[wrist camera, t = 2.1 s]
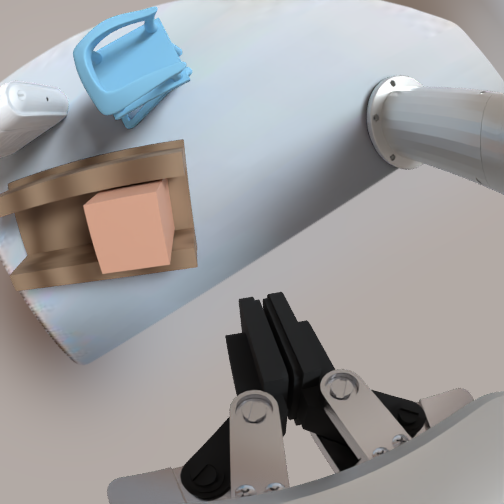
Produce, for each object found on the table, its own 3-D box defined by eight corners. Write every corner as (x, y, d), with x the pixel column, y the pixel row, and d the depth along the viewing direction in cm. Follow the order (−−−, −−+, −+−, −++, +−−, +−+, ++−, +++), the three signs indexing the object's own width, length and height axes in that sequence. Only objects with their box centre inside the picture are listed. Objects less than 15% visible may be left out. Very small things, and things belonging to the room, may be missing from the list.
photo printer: (65, 82, 20) (-1, 70, 9) (74, 115, 22) (8, 119, 11) (1, 128, 19) (-68, 145, 8) (10, 159, 21) (-58, 187, 11)
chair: (202, 91, 24) (209, 68, 14) (128, 130, 24) (88, 136, 14) (172, 32, 20) (163, -20, 10) (99, 71, 20) (48, 47, 10)
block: (166, 172, 26) (156, 191, 19) (174, 227, 29) (169, 264, 22) (110, 182, 25) (83, 205, 18) (122, 236, 28) (102, 273, 21)
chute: (183, 139, 26) (180, 143, 21) (196, 246, 31) (198, 273, 26) (11, 182, 22) (-17, 196, 17) (38, 270, 28) (18, 296, 23)
